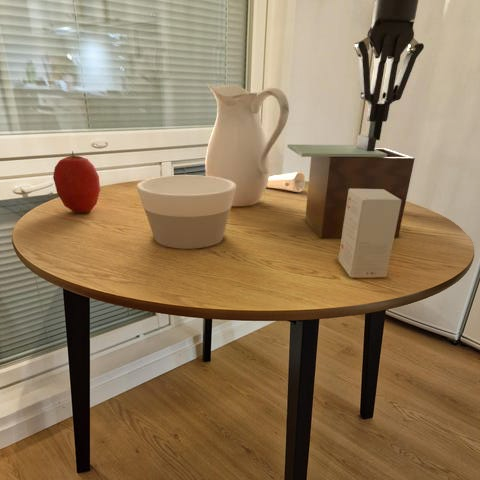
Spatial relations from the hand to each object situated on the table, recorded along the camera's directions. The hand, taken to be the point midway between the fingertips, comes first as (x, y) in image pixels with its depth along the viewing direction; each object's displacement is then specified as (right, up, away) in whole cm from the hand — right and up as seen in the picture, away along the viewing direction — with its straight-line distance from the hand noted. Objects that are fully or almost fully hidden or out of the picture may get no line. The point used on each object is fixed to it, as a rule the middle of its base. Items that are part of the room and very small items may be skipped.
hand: (373, 139), depth 87 cm
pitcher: (-26, -7, +26) cm, 37 cm away
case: (-3, -16, +9) cm, 19 cm away
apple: (-66, -11, +16) cm, 69 cm away
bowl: (-38, -20, +1) cm, 43 cm away
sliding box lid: (-8, -3, 0) cm, 8 cm away
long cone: (-17, +4, +45) cm, 48 cm away
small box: (-6, -28, -13) cm, 32 cm away
